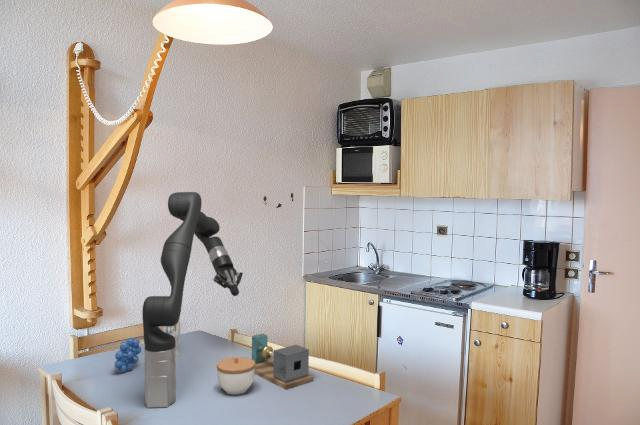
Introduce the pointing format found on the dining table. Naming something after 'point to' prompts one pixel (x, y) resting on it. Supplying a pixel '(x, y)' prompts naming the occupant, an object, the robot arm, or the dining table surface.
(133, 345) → the grapes
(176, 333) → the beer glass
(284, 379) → the block
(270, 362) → the base board
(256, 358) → the shaft
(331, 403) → the dining table surface
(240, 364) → the lidded bowl
